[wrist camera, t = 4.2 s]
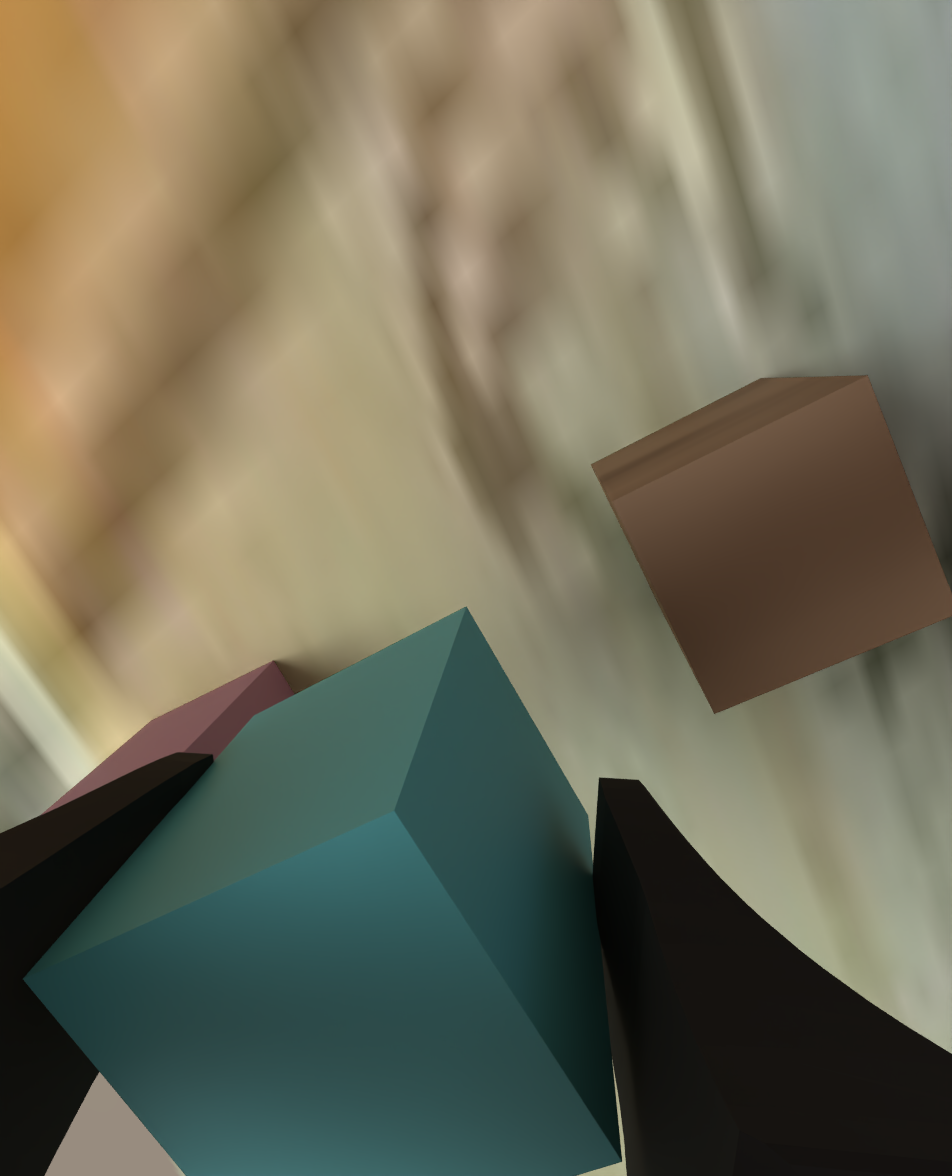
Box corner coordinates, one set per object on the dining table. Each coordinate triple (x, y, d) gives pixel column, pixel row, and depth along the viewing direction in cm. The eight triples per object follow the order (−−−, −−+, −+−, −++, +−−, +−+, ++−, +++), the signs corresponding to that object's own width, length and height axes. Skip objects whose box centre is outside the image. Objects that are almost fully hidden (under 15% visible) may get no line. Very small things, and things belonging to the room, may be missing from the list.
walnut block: (827, 540, 18) (959, 612, 12) (663, 614, 19) (714, 713, 13) (760, 378, 17) (867, 375, 11) (590, 464, 18) (611, 501, 12)
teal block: (588, 815, 13) (621, 1161, 7) (380, 903, 14) (263, 1269, 8) (466, 606, 12) (393, 810, 6) (253, 715, 13) (22, 978, 7)
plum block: (352, 785, 21) (281, 932, 16) (231, 838, 22) (123, 994, 17) (273, 659, 21) (169, 766, 15) (151, 720, 21) (7, 843, 16)
